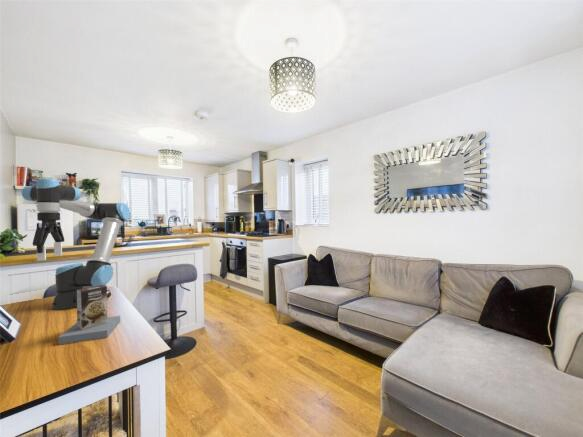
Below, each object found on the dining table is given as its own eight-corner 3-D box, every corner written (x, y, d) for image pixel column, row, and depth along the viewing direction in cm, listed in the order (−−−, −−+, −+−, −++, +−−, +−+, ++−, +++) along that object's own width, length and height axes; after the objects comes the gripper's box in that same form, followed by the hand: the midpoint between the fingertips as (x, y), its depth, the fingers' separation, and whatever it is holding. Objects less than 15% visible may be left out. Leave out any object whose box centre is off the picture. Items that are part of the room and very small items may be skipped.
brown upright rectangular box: (82, 330, 101) (81, 291, 101) (76, 326, 105) (75, 289, 104) (108, 322, 109) (107, 286, 108) (102, 319, 112) (101, 284, 112)
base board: (78, 327, 111) (78, 320, 111) (120, 321, 116) (120, 315, 116) (58, 344, 96) (58, 337, 96) (107, 337, 101) (107, 330, 101)
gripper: (53, 212, 124) (54, 254, 124) (19, 211, 100) (21, 263, 101) (72, 212, 126) (73, 253, 127) (43, 211, 103) (44, 261, 103)
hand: (50, 257), depth 114 cm, fingers open, 13 cm apart
